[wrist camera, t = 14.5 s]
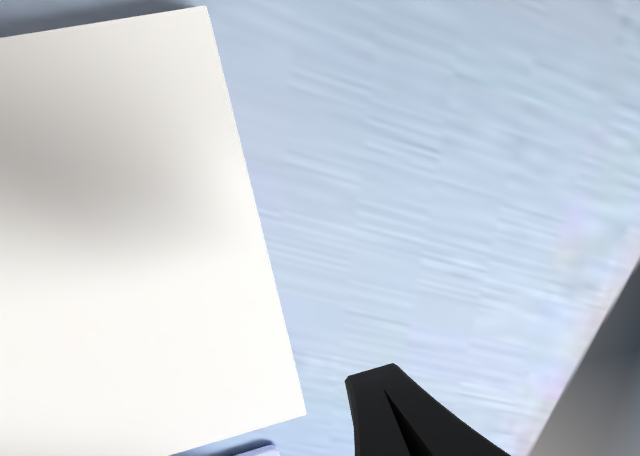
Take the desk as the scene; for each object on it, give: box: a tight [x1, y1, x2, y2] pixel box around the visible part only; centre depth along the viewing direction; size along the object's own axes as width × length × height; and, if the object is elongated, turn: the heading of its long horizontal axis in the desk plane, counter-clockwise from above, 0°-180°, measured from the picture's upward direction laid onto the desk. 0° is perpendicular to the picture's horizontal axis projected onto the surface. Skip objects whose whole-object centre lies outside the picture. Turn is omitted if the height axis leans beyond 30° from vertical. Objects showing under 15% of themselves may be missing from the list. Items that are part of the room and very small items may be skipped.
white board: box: [0, 5, 307, 456], centre depth 16 cm, size 18×16×2 cm
